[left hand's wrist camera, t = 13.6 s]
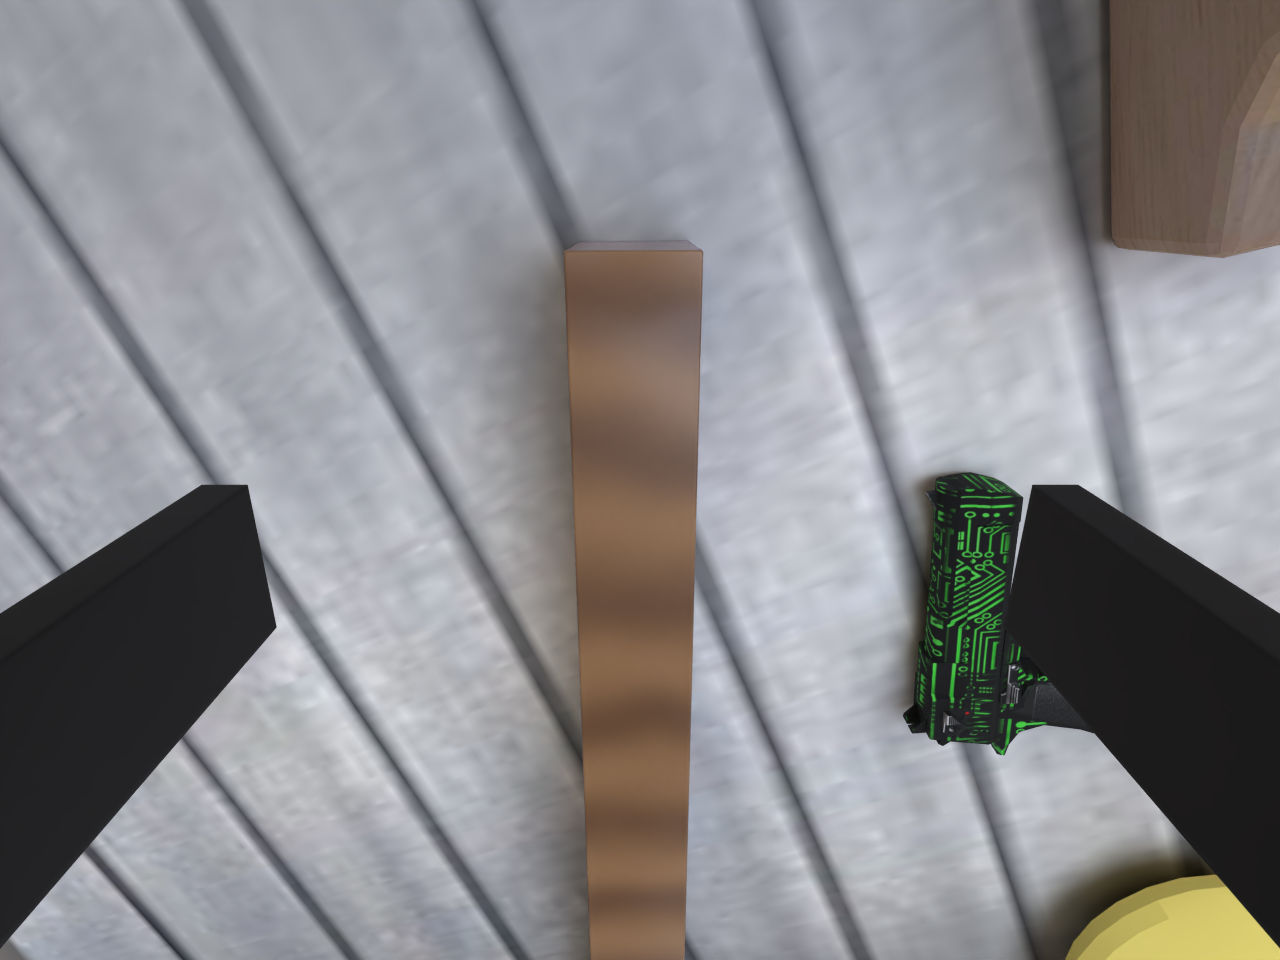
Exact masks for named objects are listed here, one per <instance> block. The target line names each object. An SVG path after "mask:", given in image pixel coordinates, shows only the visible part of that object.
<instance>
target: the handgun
mask: <svg viewBox="0 0 1280 960" xmlns="http://www.w3.org/2000/svg"><path fill="white" fill-rule="evenodd" d="M925 494H926V495H927V497H928V499H929V500H930V502H931V503H932V505H933V507H934V513H933V518H934V530H933V543H932V556H931V568H930V581H929V594H928V604H927V620H926V634H925V641H920V642H919V651H918V671H917V672H916V676H915V692H914V705H913V706H912V707H911V708H909V709H908V710H907V711H906V712H905V713H904V714H903V717H904V719H905V721H906V722H907V724H911V725H908V727H909V729H910V730H911V732H912V733H927V735H928V737H929V738H930V739H932V740H937V742H938V744H940V745H942V746H944V745H945V744H947V743H949V742H950V741H952V742H965V743H977V744H991V745H992V747H993V748H994V750H995V751H996V753H997V754H999V755H1005V753H1006V750H1007V748H1008V745H1009V744H1010V743H1011V741H1012V740H1013V739H1014V738H1015V737H1016V735H1017V734H1018V733H1019V732H1021V731H1024V730H1028V729H1032V728H1035V727H1039V726H1042V725H1049V726H1057V727H1065V728H1073V729H1081V730H1084V731H1088V732H1091V733H1094V732H1093V731H1092V730H1091V729H1090V727H1089V726H1088V725H1087V724H1086V723H1085V722H1084V720H1083V719H1082V718H1081V717H1080V716H1079V715H1078V713H1077V712H1076V711H1075V710H1074V709H1073V708H1072V706H1071V705H1070V704H1069V703H1068V702H1067V701H1066V700H1065V698H1064V697H1063V696H1062V695H1061V694H1060V693H1059V691H1058V690H1057V689H1056V688H1055V687H1054V686H1053V684H1052V683H1051V682H1050V681H1049V680H1048V679H1047V677H1046V676H1045V675H1044V674H1043V673H1042V672H1041V670H1040V669H1039V668H1038V667H1037V666H1036V665H1035V663H1034V662H1033V661H1032V660H1031V659H1030V658H1029V656H1028V655H1027V654H1026V653H1025V652H1024V651H1023V650H1022V648H1021V647H1020V646H1019V645H1018V644H1017V643H1016V641H1015V640H1014V639H1013V638H1012V637H1011V636H1010V634H1009V633H1008V632H1007V631H1006V630H1005V629H1004V622H1005V617H1006V612H1007V607H1008V602H1009V598H1010V590H1011V583H1012V575H1013V567H1014V559H1015V552H1016V544H1017V536H1018V528H1019V522H1020V521H1021V512H1022V503H1023V497H1022V496H1021V495H1019V494H1018V493H1017V492H1015V491H1014V490H1013V489H1011V488H1010V487H1009V486H1007V485H1006V484H1005V483H1003V482H1001V481H999V480H997V479H995V478H991V477H987V476H983V475H979V474H975V473H961V474H953V475H948V476H945V477H939V478H937V479H936V488H935V490H933V491H927V492H925Z"/></svg>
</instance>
